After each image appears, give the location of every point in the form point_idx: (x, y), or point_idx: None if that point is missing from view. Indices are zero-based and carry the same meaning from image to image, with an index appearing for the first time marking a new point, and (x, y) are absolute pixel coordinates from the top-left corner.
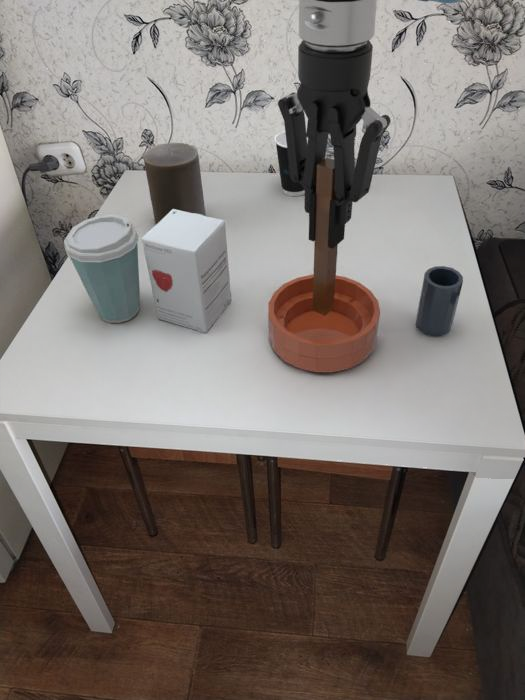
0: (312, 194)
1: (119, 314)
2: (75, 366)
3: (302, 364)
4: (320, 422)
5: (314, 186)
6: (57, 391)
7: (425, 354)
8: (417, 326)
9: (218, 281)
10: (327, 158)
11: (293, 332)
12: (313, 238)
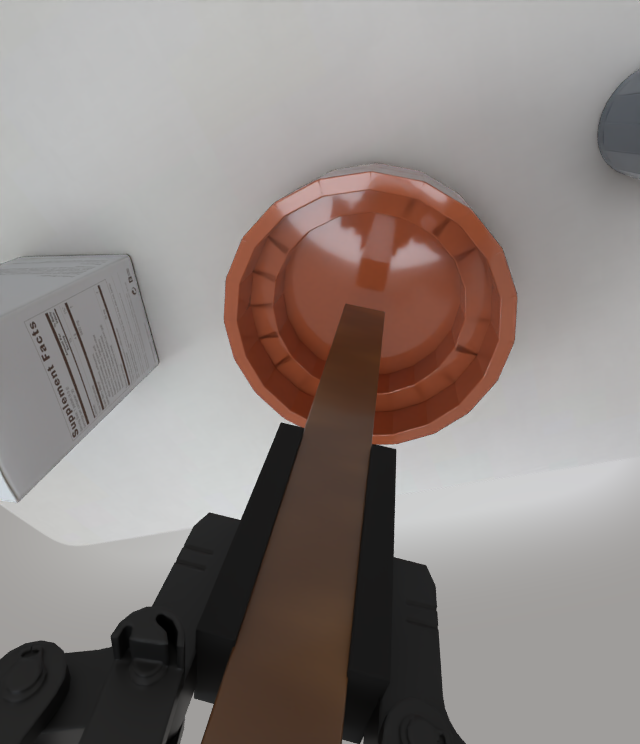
0: (209, 700)
1: None
2: (61, 480)
3: None
4: (439, 473)
5: (184, 710)
6: (83, 516)
7: (628, 251)
8: (605, 158)
9: (92, 343)
10: None
11: (308, 315)
12: None
